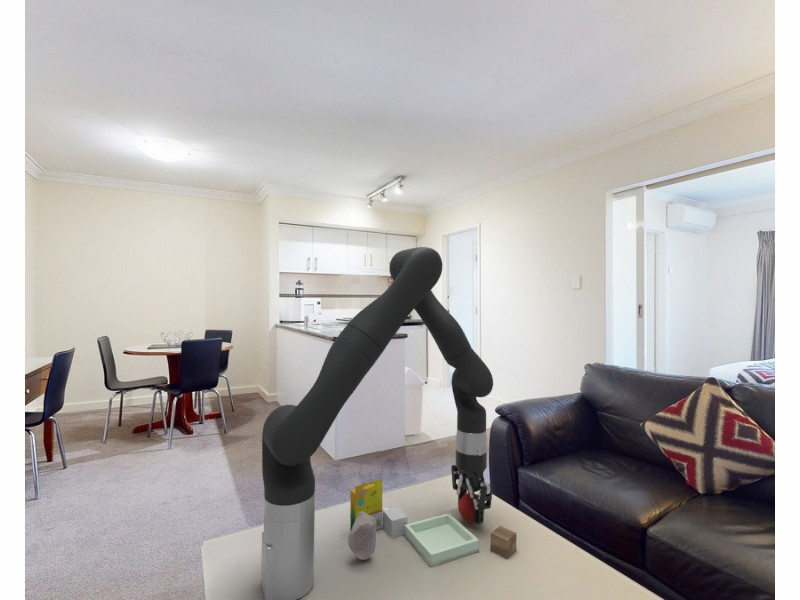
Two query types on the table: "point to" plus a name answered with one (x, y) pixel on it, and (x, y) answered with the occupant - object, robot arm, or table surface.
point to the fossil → (363, 536)
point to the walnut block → (503, 542)
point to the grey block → (394, 521)
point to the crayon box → (367, 502)
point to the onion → (467, 507)
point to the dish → (441, 539)
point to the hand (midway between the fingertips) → (470, 516)
